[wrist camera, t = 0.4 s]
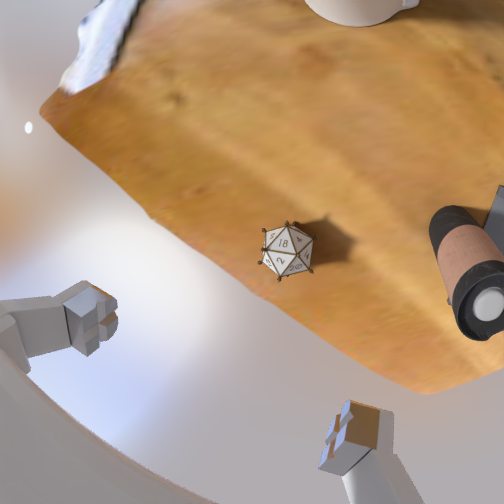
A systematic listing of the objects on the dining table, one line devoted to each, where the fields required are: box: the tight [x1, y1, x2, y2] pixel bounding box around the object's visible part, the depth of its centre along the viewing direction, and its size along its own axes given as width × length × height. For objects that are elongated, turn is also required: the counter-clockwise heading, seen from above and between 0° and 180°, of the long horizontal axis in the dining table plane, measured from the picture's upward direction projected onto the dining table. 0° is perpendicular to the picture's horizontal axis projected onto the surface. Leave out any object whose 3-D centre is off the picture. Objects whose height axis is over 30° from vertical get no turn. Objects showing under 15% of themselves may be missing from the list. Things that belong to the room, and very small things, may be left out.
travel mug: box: [429, 206, 504, 341], centre depth 29 cm, size 8×8×20 cm
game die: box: [257, 221, 319, 283], centre depth 44 cm, size 9×8×10 cm
